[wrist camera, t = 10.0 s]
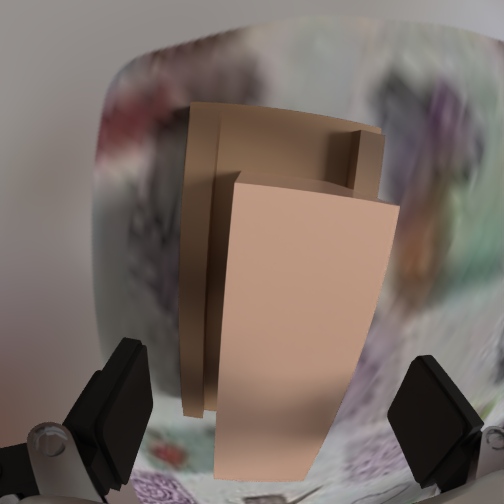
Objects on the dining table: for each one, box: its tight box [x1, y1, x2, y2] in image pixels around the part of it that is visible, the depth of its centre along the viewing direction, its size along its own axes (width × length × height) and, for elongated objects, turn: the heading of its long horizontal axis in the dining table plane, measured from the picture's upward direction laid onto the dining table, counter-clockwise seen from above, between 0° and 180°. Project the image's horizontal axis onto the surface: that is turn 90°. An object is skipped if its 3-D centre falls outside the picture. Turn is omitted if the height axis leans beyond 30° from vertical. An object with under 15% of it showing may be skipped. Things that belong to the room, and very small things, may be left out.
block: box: [214, 171, 400, 482], centre depth 12 cm, size 4×12×7 cm, turn 174°
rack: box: [179, 102, 385, 418], centre depth 15 cm, size 18×9×2 cm, turn 174°
